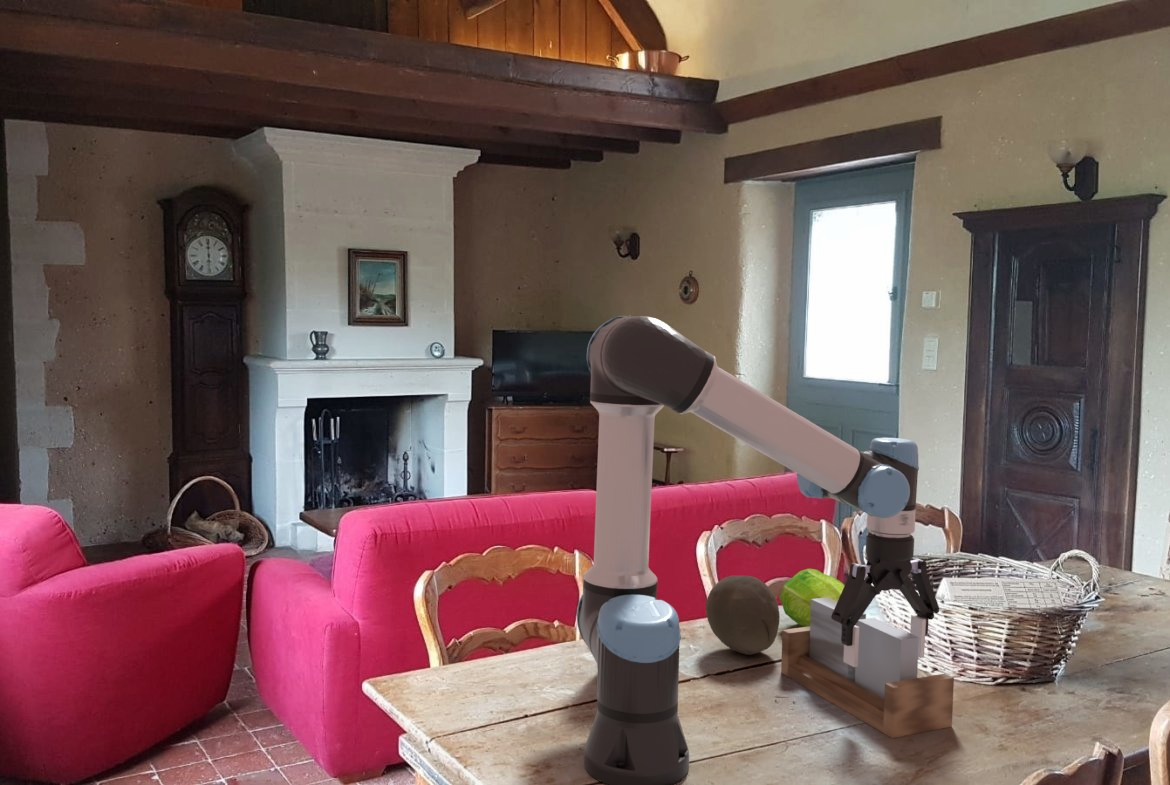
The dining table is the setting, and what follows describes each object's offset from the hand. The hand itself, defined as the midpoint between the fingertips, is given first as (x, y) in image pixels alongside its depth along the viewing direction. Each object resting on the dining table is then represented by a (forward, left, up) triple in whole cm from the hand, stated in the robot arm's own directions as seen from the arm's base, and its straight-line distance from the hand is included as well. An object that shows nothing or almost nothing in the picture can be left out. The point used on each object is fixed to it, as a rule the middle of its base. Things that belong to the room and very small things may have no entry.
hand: (884, 659), depth 161 cm
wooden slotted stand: (0, +6, -9) cm, 11 cm away
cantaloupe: (-7, +33, -9) cm, 35 cm away
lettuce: (+15, +37, -9) cm, 41 cm away
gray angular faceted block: (0, 0, -7) cm, 7 cm away
